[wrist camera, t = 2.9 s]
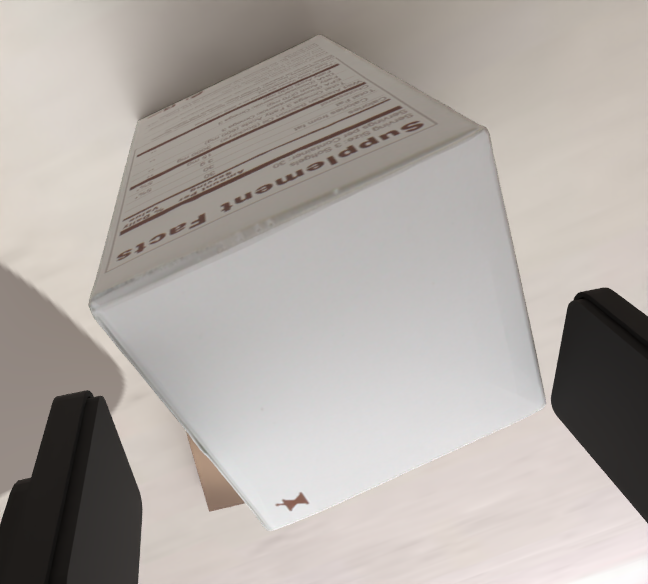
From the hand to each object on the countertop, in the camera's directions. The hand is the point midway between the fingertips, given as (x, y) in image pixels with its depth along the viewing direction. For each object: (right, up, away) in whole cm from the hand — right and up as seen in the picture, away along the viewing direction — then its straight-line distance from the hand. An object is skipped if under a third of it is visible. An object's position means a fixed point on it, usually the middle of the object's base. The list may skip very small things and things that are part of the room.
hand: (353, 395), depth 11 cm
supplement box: (-3, +7, +10) cm, 13 cm away
